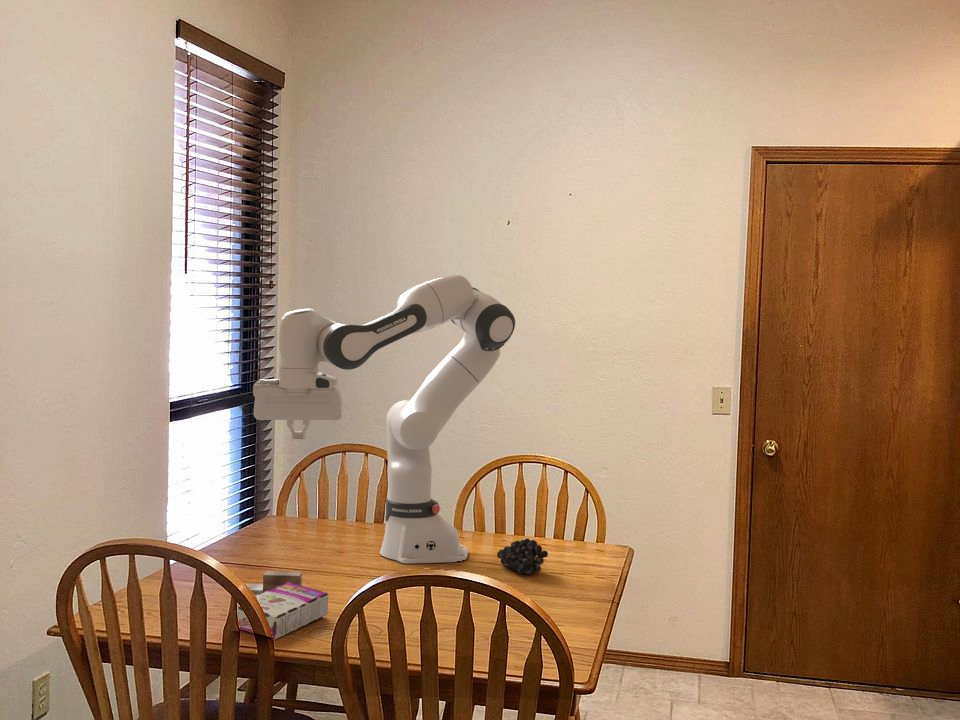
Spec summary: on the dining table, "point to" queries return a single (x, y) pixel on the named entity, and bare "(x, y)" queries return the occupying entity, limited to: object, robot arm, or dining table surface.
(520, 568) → the fruit
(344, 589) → the dining table surface
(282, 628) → the candy bar box
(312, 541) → the dining table surface
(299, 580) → the block
